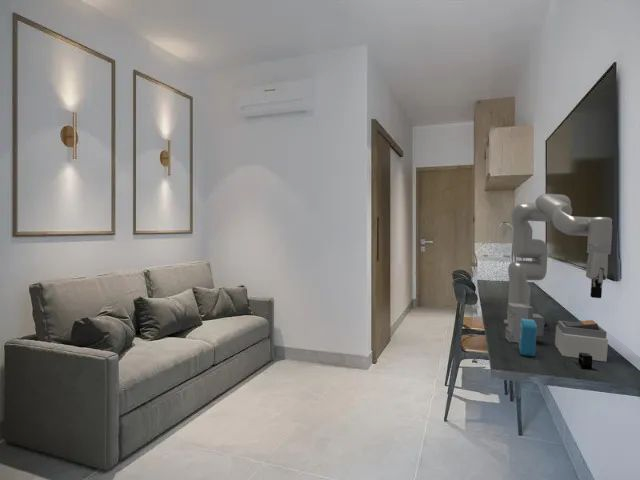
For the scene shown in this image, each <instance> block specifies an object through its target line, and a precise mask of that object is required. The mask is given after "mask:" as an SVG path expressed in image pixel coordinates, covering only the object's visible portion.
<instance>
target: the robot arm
mask: <svg viewBox="0 0 640 480" xmlns="http://www.w3.org/2000/svg"><path fill="white" fill-rule="evenodd" d="M571 205H572V202H571V199H570V198H569V196H567V195H565V194H555V193H544V194H543V193H542V194H540V195H539V196H537V197H536V199H535V201H534V202H524V203H519V204H517V205H515V206H514V208H513V209H512V213H511V222H512V223H511V224H512V228H513V229H512V230H513V233H512V254H513V256H514V257H517V258H520V259H531V260H514V261H512V262H510V264H509V265H508V268H507V272H508V273H507V274H508V278H509V279H508V281H509V284H508V285H509V286H508V301H507V302H508V303H514V304H527V305H529V306H531V305H530V303H531V302H530V301H531V287H530V285H529V283H528V281H541V280H544V279H545V278H546V275H547V267H548V254H549V253H548V245H547V243H546V242H545V241H544V240H542V239H539V238H536V239H535V238H533V228H532V226H531V224H530V223H529V222H552V224H553V226H554V228H555V229H556V230H558V231H560V232H561V233H563V234H566V235H567V236H581V237H582V236H583V237H587V248H586V253H587V254H588V256H587V262H586V270H585V272H586V273H585V277H586V278H588V279H589V280H590V281H591V283H590V284H591V287H590V297H591V298H595V299H602V294H603V292H602V291H603V283H604V281H606V280H607V278H608V270H609V269H608V267H609V255H611V253H612V252H611V251H612V238H613V225H612V221H613V219H612V218H611V217H607V216H594V217H591V216H576V215H575V216H573V215H572V213H573V207H572V206H571ZM508 303H507V304H508ZM508 322H509V316H508V315H507V317H506V318H505V319H503V323H504V324H505V325H508Z"/></svg>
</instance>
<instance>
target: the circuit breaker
mask: <svg viewBox="0 0 640 480" xmlns="http://www.w3.org/2000/svg"><path fill="white" fill-rule="evenodd" d="M506 314H507V316H509V322H508V324H507V326H505V339H506V341H508V342H509V343H514V342H517V344H519V337H520V322H521V318H522V319H531V320H534V321H535V323H536V325H537V333H536V337H544V330H545V329H544V328H545V327H546V328H547V326H548V324H547V323H545V317H543V316H542V315H540V314H539V313H534V307H533V306H531V305H530V306H529V305H527V304H514V303H507V307H506Z"/></svg>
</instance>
